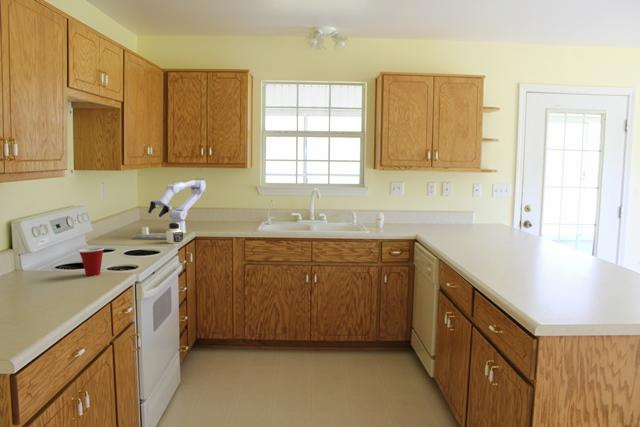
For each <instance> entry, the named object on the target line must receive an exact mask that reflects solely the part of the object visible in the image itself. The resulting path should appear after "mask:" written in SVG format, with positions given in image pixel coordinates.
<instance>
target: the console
mask: <svg viewBox="0 0 640 427" xmlns="http://www.w3.org/2000/svg"><path fill="white" fill-rule="evenodd" d="M132 240H145V241H146V240H149V241H151V240H153V241H167V238H166V232H165V233H163V232H161V233H160V232H149V234H142V233H138V234H137V235H135V236H133V237H132Z"/></svg>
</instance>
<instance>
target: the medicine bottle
mask: <svg viewBox="0 0 640 427" xmlns="http://www.w3.org/2000/svg"><path fill="white" fill-rule="evenodd" d="M168 226H169V227H168V228H169V230H166V231H165V233H166V238H167V240H166V243H169V244H179V243H180V244H181V243H184V234H183V231H181V230H179V229H180V226H179V223H173V222H171V223H169V225H168Z"/></svg>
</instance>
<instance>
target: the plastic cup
mask: <svg viewBox="0 0 640 427" xmlns="http://www.w3.org/2000/svg"><path fill="white" fill-rule="evenodd" d="M104 250H105V247H92V248H84V249H79V250H78V251H77V252H78V253H79V255H80V257H81V261H82V265H83V268H84V272H85V275H86V277H95V276H94V275H96V276H100V275H101V268H102V264H103V263H102V261H103V254H104Z"/></svg>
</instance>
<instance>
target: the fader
mask: <svg viewBox="0 0 640 427" xmlns="http://www.w3.org/2000/svg"><path fill="white" fill-rule="evenodd" d="M149 230H150V227H148V226H143V227H141V234H149V233H150V232H149Z"/></svg>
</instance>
